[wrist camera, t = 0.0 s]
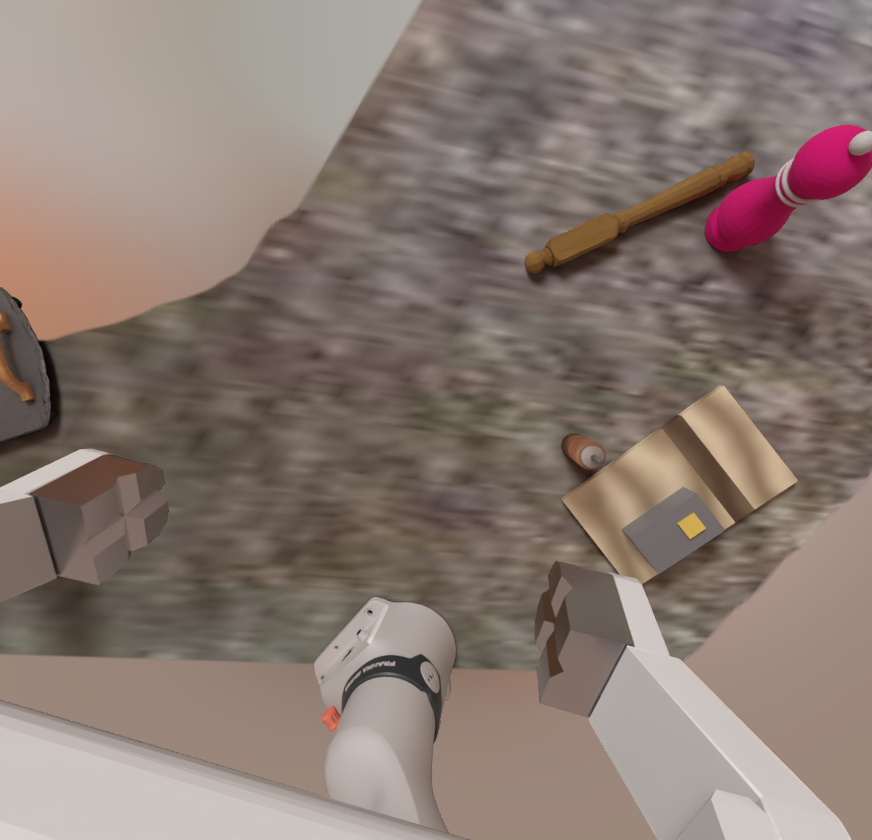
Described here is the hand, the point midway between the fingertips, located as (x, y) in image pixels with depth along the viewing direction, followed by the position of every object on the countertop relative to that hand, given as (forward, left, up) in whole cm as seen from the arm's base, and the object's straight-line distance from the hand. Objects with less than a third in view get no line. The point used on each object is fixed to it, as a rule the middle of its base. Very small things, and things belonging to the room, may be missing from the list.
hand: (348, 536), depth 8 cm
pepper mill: (+42, -3, -52) cm, 67 cm away
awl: (+9, -14, -52) cm, 55 cm away
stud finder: (+12, -30, -51) cm, 60 cm away
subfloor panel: (+16, -27, -52) cm, 61 cm away
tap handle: (+33, +6, -53) cm, 63 cm away
